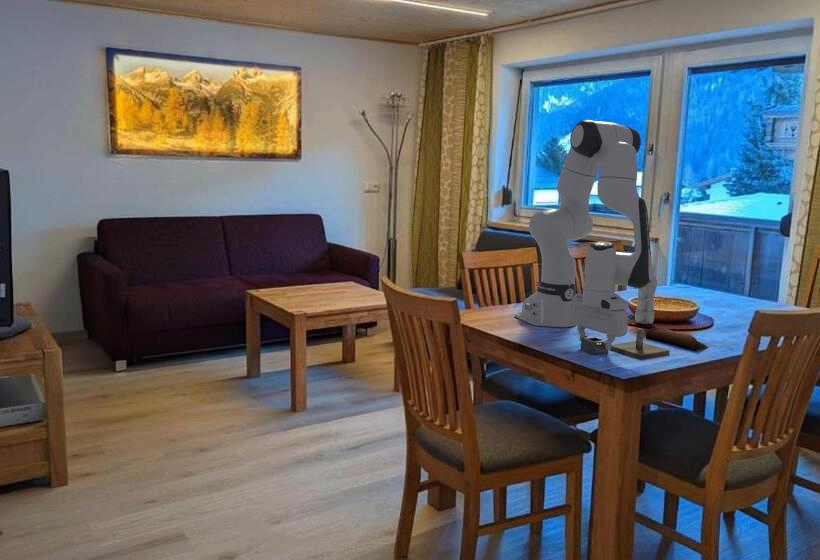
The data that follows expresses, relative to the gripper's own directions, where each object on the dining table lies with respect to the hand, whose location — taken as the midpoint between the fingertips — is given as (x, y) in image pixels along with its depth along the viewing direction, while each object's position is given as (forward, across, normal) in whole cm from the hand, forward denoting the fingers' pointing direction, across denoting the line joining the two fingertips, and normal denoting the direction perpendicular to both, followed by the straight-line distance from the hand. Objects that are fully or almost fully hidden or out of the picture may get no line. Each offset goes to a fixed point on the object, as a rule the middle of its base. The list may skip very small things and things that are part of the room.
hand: (594, 345), depth 209 cm
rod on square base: (+2, +6, +12) cm, 13 cm away
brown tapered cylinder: (+3, +4, +32) cm, 32 cm away
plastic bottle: (+2, -19, +43) cm, 47 cm away
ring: (+2, 0, 0) cm, 2 cm away
